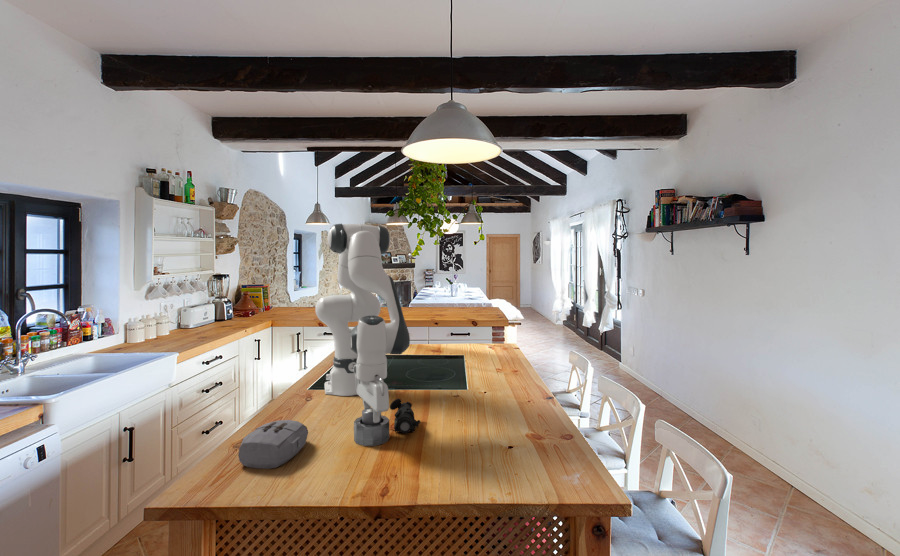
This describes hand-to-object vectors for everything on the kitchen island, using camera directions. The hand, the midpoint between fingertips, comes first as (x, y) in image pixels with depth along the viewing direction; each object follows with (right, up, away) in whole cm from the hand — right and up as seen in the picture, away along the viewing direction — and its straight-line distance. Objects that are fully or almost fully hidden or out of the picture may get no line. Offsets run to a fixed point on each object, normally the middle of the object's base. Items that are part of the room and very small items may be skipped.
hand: (371, 417), depth 132 cm
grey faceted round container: (0, -6, 0) cm, 6 cm away
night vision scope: (+9, -6, +8) cm, 14 cm away
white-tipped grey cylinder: (0, -3, 0) cm, 3 cm away
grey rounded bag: (-24, -7, -9) cm, 27 cm away
